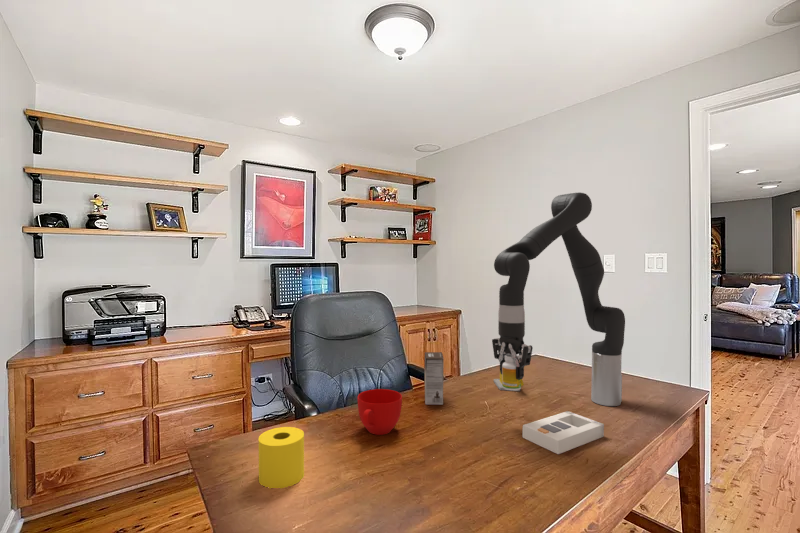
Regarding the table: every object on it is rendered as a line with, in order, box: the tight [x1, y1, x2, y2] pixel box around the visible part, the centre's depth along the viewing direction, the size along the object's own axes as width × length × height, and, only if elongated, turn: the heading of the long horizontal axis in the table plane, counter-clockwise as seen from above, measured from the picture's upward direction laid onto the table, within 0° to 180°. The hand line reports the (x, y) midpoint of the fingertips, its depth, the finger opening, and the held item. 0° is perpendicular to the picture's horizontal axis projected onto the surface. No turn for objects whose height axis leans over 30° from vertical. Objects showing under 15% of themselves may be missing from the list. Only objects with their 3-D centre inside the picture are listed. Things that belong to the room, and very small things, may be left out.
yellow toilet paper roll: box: [258, 426, 305, 489], centre depth 95 cm, size 10×10×9 cm
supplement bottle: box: [502, 354, 522, 392], centre depth 123 cm, size 5×5×10 cm
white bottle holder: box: [522, 410, 605, 455], centre depth 116 cm, size 20×12×4 cm, turn 122°
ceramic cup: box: [357, 388, 403, 436], centre depth 119 cm, size 13×17×10 cm
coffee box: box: [424, 351, 445, 406], centre depth 146 cm, size 9×6×16 cm
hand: (511, 376), depth 123 cm, fingers closed on supplement bottle, 5 cm apart
